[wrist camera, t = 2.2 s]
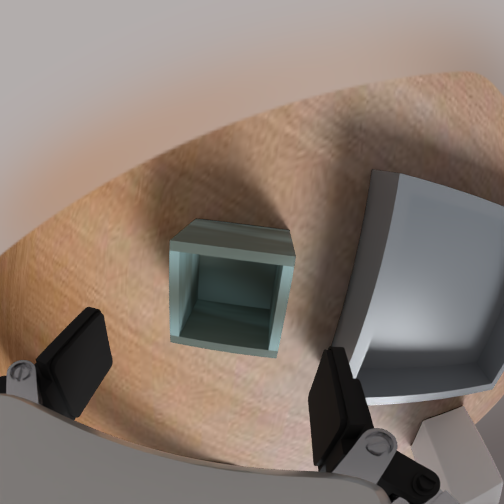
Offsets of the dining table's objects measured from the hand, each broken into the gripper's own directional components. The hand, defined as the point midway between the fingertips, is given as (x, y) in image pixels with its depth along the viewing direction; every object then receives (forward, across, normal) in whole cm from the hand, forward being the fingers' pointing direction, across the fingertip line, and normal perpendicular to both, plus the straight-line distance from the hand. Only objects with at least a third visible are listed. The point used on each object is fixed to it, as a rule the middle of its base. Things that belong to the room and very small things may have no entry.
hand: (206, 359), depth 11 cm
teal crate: (+12, 0, +1) cm, 12 cm away
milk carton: (+12, -30, +22) cm, 39 cm away
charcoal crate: (+12, -19, +1) cm, 22 cm away
